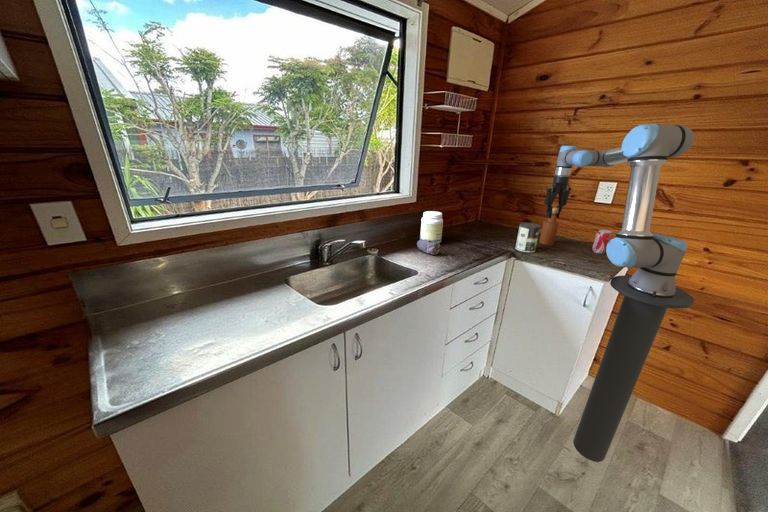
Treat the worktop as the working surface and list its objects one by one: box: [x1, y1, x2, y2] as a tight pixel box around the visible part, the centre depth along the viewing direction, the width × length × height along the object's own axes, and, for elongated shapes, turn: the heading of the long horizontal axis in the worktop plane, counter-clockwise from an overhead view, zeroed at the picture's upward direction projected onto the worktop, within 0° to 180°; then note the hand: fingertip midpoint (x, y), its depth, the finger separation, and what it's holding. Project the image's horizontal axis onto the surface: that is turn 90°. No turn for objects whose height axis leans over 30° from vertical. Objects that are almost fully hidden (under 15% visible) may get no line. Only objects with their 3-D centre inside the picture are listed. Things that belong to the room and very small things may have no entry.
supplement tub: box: [419, 210, 444, 244], centre depth 172 cm, size 12×12×17 cm
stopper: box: [551, 206, 559, 215], centre depth 173 cm, size 5×5×7 cm
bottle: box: [538, 215, 560, 246], centre depth 176 cm, size 8×8×17 cm
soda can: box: [591, 229, 613, 255], centre depth 163 cm, size 7×7×12 cm
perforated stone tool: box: [416, 239, 441, 256], centre depth 157 cm, size 15×5×7 cm, turn 36°
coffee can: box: [514, 221, 542, 254], centre depth 164 cm, size 10×10×14 cm
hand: (552, 217), depth 173 cm, fingers closed on stopper, 5 cm apart
